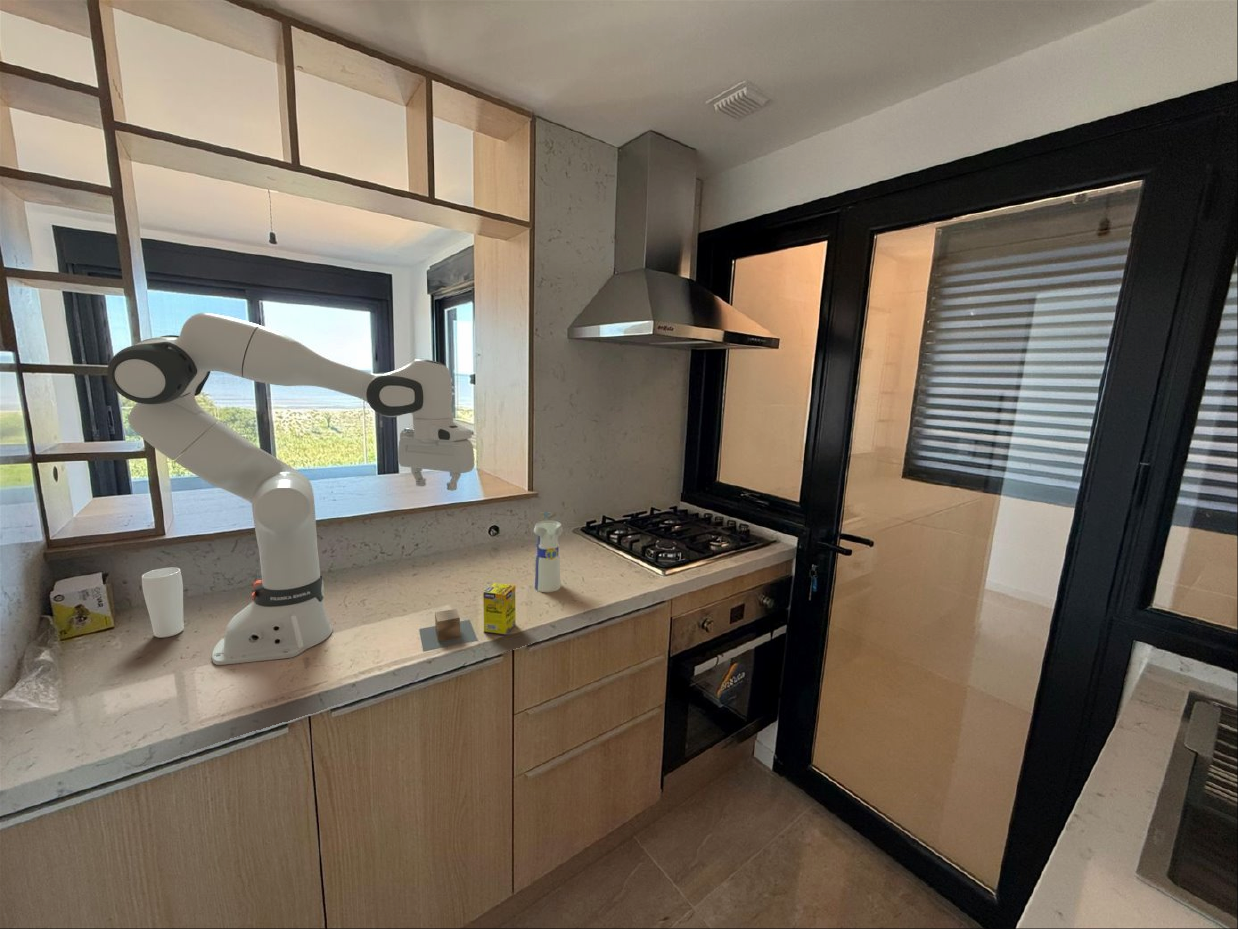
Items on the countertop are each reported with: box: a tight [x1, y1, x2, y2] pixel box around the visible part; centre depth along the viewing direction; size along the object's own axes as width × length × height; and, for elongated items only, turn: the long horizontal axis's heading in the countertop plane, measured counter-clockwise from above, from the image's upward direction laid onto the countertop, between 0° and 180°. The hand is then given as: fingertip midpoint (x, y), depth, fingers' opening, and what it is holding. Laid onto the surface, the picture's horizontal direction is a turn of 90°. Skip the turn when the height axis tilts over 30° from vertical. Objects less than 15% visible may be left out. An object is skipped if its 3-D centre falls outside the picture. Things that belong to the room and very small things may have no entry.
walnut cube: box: [434, 608, 461, 642], centre depth 118 cm, size 5×5×5 cm
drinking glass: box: [141, 566, 185, 639], centre depth 116 cm, size 7×7×15 cm
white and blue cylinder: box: [533, 509, 564, 593], centre depth 146 cm, size 8×9×25 cm
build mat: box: [418, 619, 479, 652], centre depth 119 cm, size 12×11×1 cm
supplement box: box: [482, 582, 516, 637], centre depth 121 cm, size 6×6×11 cm
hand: (436, 488), depth 119 cm, fingers open, 8 cm apart
